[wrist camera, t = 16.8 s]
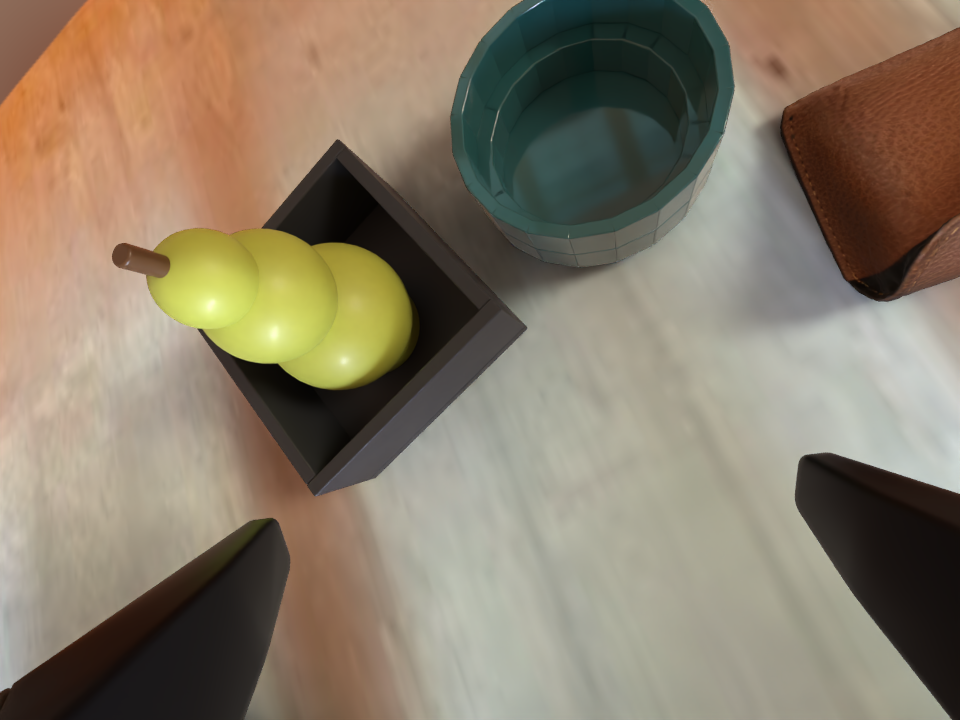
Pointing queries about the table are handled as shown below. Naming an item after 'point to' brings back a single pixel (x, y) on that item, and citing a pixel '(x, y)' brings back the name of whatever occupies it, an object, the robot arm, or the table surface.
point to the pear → (284, 301)
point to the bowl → (592, 123)
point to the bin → (429, 369)
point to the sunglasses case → (886, 168)
